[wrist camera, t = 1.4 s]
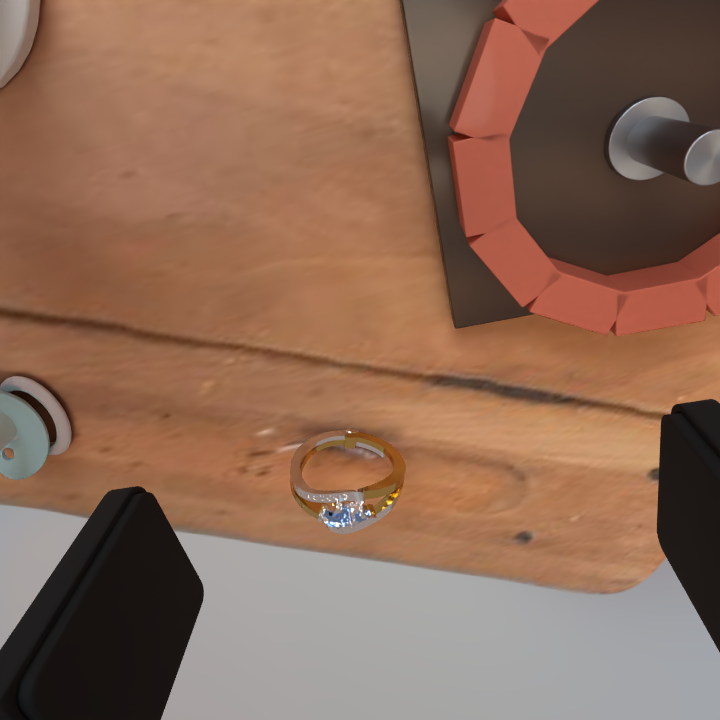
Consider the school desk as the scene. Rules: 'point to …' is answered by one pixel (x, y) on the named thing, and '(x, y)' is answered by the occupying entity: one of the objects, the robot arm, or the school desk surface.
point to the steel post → (662, 143)
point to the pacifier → (28, 428)
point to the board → (572, 138)
